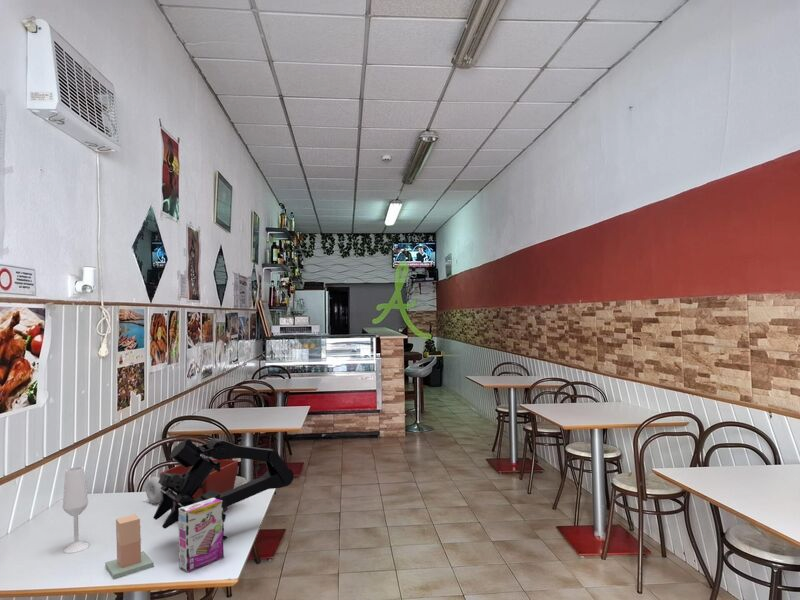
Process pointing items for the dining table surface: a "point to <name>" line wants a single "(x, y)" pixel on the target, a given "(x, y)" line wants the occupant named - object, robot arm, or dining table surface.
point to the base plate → (120, 572)
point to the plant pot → (213, 477)
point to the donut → (154, 490)
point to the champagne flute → (75, 502)
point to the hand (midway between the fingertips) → (158, 523)
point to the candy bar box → (200, 533)
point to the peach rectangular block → (128, 540)
